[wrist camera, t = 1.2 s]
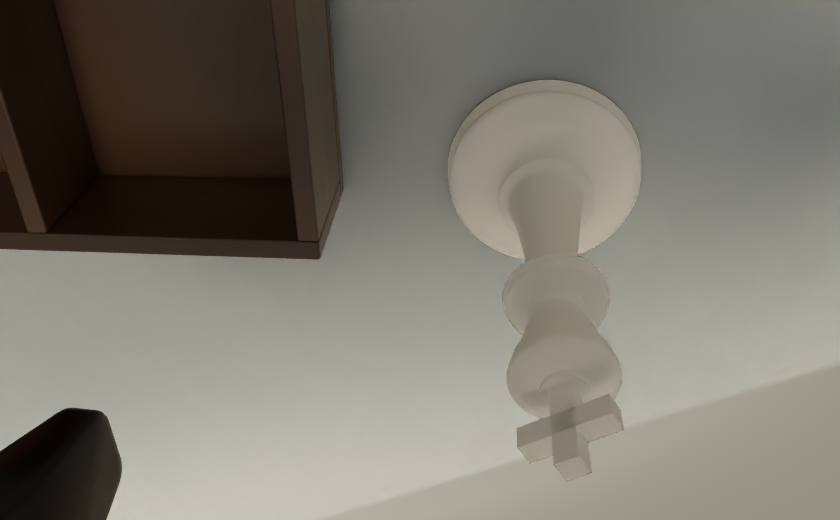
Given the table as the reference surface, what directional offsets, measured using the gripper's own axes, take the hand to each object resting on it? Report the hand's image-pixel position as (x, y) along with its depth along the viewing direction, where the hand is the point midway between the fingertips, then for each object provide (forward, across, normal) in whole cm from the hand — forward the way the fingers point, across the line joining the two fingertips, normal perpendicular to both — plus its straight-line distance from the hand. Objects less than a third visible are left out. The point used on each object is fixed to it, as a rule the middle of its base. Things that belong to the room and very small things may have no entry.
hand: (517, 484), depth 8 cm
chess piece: (+13, 0, +3) cm, 14 cm away
